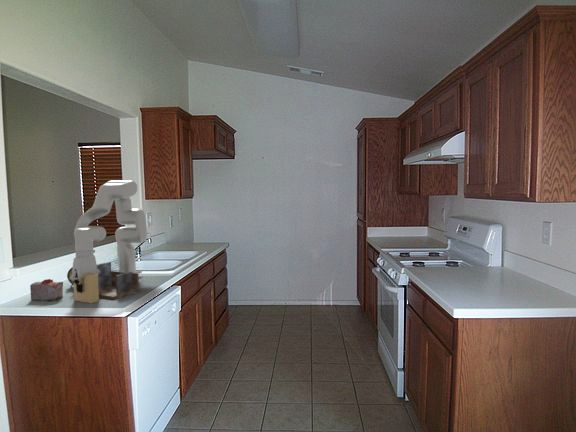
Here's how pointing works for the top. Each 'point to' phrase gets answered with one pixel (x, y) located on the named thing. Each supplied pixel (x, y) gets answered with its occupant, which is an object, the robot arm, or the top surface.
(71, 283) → the alarm clock
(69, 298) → the top surface
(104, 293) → the shelf
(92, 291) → the book
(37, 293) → the food item
